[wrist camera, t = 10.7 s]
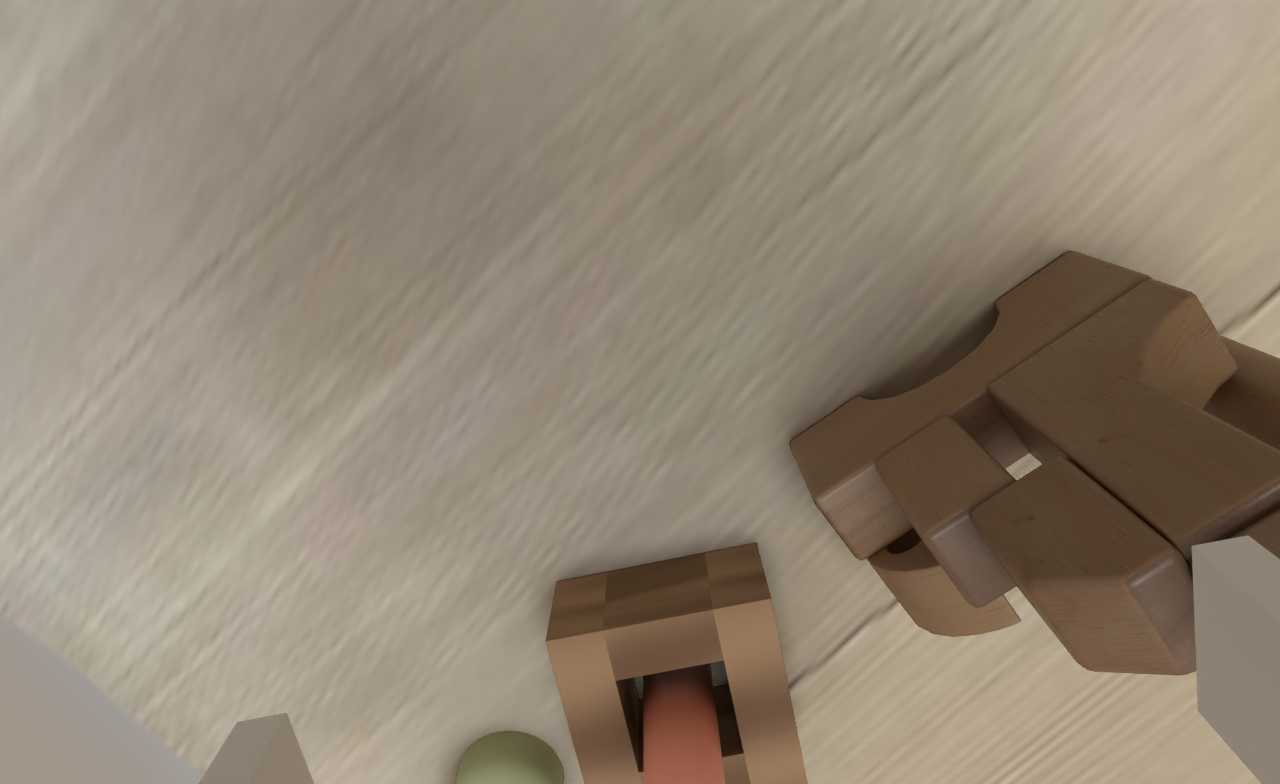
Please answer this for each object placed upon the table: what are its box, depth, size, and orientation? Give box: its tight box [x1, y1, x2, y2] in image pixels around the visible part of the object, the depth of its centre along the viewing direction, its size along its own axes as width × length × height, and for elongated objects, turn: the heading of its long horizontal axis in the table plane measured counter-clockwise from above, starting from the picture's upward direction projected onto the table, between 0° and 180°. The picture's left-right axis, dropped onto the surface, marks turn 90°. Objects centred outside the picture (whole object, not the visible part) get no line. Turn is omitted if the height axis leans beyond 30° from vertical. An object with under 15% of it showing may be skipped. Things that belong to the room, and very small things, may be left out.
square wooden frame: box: [546, 543, 808, 784], centre depth 41 cm, size 9×9×5 cm
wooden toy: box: [790, 251, 1280, 675], centre depth 28 cm, size 16×7×25 cm, turn 127°
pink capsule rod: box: [643, 663, 725, 784], centre depth 37 cm, size 3×3×14 cm
